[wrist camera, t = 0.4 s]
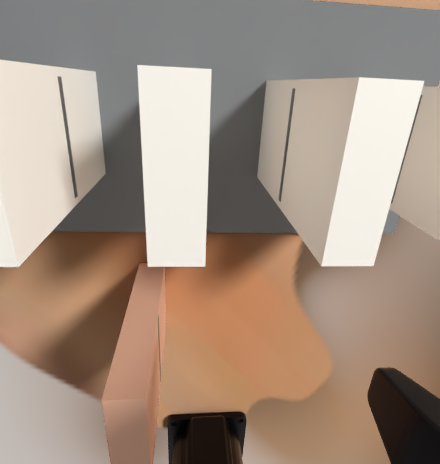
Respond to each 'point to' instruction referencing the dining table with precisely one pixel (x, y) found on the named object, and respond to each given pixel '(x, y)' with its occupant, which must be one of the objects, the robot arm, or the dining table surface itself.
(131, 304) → the domino
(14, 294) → the dining table surface
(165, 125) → the domino
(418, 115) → the domino
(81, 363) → the dining table surface
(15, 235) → the domino
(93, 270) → the dining table surface
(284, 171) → the domino
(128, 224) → the mat
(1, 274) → the dining table surface
